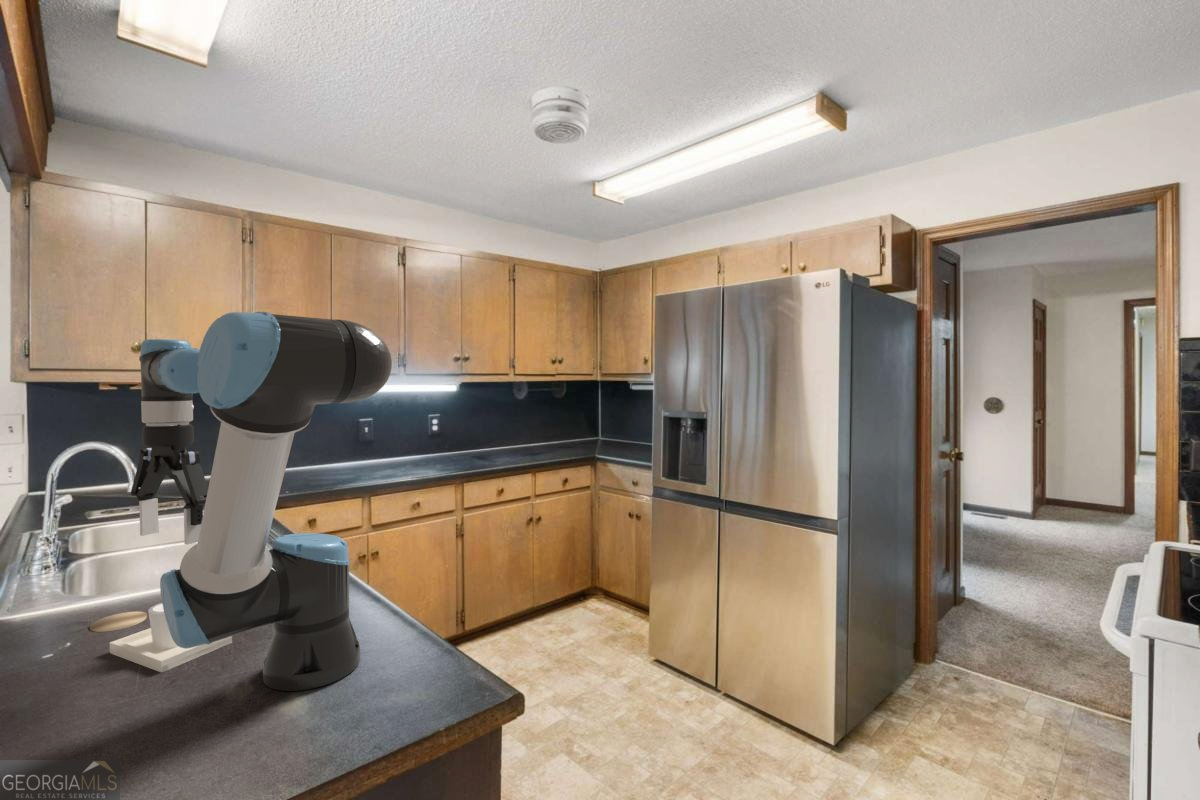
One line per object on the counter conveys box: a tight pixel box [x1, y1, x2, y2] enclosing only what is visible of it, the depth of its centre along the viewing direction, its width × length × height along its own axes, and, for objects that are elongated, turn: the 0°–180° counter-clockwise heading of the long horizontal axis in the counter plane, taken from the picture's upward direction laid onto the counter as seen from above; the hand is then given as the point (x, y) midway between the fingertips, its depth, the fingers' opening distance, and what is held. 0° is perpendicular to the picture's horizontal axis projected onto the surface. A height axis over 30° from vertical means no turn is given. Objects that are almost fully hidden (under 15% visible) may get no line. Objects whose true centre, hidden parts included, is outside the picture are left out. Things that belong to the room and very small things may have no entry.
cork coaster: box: [89, 611, 148, 633], centre depth 115 cm, size 9×9×1 cm
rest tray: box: [109, 627, 233, 674], centre depth 105 cm, size 16×12×2 cm
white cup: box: [147, 602, 178, 650], centre depth 104 cm, size 7×7×7 cm
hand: (171, 538), depth 104 cm, fingers open, 13 cm apart
